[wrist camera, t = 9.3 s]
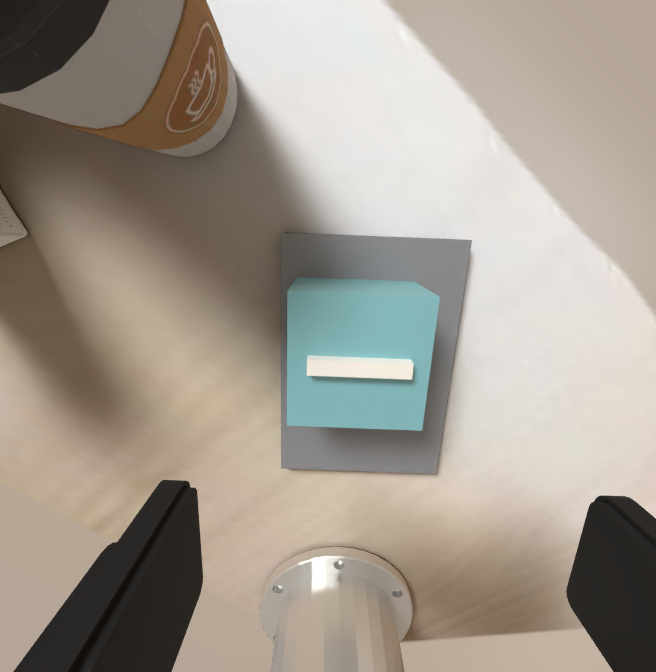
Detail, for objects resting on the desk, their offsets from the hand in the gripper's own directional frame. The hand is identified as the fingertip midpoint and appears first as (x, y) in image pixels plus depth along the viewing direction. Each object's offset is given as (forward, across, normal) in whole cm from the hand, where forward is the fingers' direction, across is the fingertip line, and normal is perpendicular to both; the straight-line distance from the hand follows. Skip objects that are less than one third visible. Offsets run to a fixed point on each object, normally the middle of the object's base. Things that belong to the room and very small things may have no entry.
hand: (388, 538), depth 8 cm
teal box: (+14, 0, -1) cm, 14 cm away
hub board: (+15, -1, +1) cm, 15 cm away
